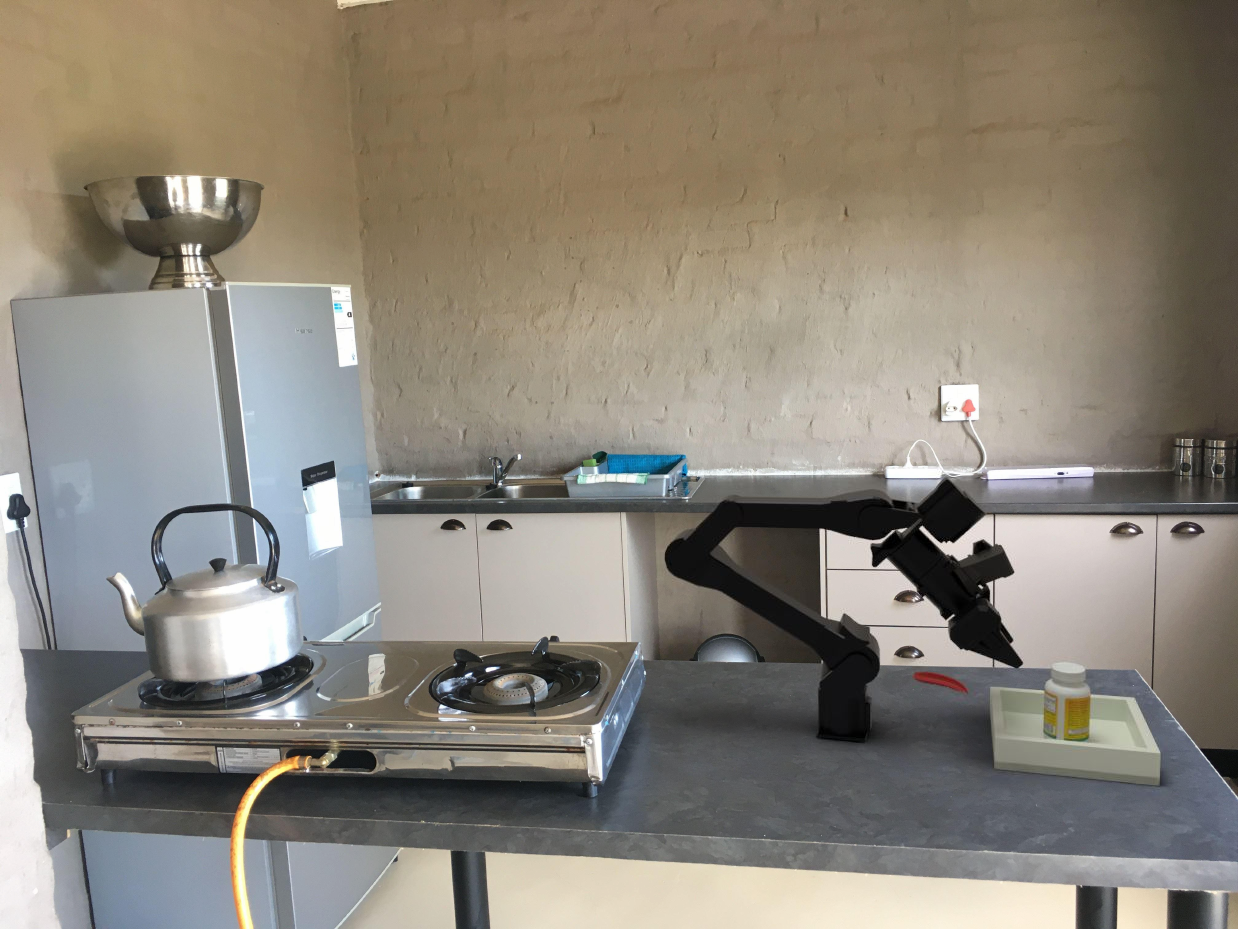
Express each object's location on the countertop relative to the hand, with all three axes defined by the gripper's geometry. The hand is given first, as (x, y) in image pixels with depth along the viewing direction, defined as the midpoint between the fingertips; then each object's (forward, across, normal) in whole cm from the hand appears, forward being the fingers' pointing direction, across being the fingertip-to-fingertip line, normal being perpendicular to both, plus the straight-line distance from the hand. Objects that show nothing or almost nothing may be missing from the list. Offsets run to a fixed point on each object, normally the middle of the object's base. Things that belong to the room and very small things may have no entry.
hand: (1015, 654), depth 126 cm
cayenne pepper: (+3, +21, +15) cm, 26 cm away
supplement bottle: (+12, 0, +3) cm, 13 cm away
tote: (+13, 0, +4) cm, 14 cm away
